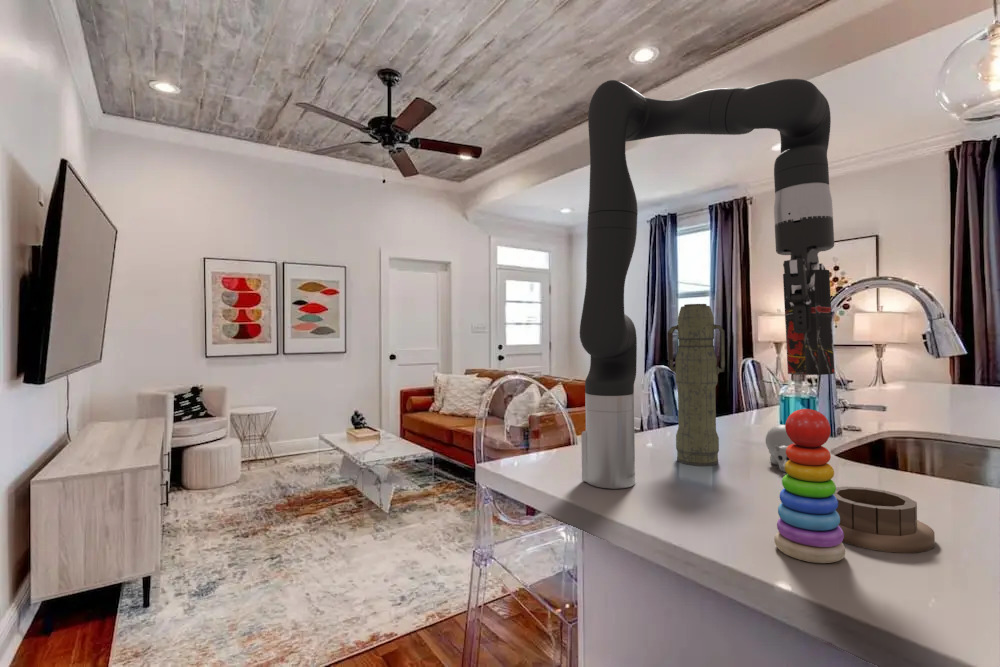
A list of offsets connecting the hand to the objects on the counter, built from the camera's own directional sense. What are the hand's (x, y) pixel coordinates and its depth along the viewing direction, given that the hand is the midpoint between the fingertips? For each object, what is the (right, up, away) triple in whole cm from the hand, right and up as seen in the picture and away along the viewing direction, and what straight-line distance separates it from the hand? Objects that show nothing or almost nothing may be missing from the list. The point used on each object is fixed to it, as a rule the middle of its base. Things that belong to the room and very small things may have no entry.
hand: (808, 332), depth 77 cm
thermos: (-2, -29, +39) cm, 49 cm away
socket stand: (+7, -29, -3) cm, 30 cm away
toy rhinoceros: (+15, -29, +33) cm, 46 cm away
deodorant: (0, -6, 0) cm, 6 cm away
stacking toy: (-5, -29, -9) cm, 31 cm away
